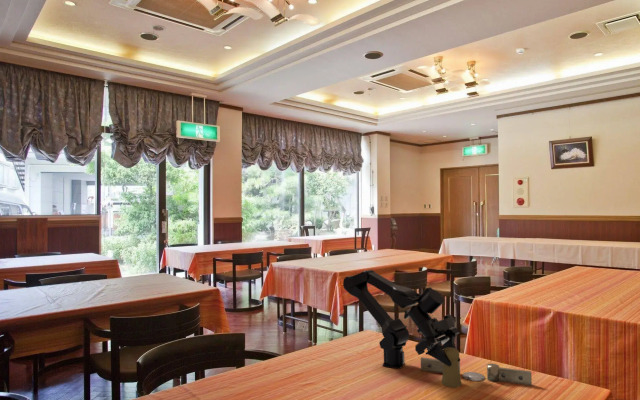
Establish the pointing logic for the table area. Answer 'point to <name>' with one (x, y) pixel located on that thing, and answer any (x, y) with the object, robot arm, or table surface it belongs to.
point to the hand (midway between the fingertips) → (455, 363)
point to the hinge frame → (493, 375)
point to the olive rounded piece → (451, 369)
